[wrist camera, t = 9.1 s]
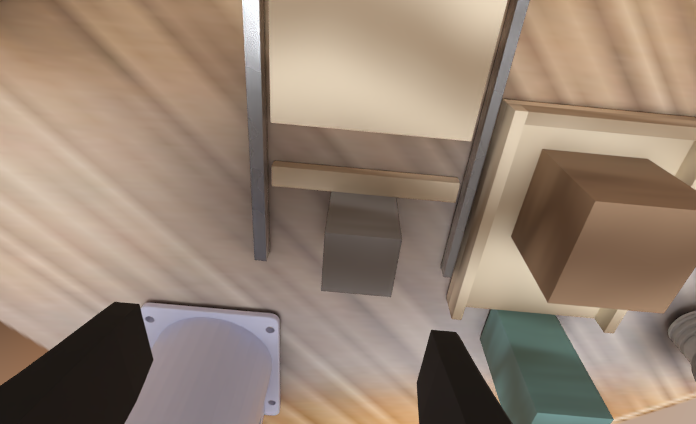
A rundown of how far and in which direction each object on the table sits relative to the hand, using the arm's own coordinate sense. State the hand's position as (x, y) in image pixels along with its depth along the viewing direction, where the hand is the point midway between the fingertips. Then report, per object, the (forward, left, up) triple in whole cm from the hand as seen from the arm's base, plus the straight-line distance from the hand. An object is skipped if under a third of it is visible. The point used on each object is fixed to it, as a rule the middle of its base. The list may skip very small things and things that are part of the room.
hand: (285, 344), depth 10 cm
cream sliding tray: (-3, -12, -10) cm, 16 cm away
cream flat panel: (+3, -2, -10) cm, 11 cm away
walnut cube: (0, -12, -9) cm, 15 cm away
